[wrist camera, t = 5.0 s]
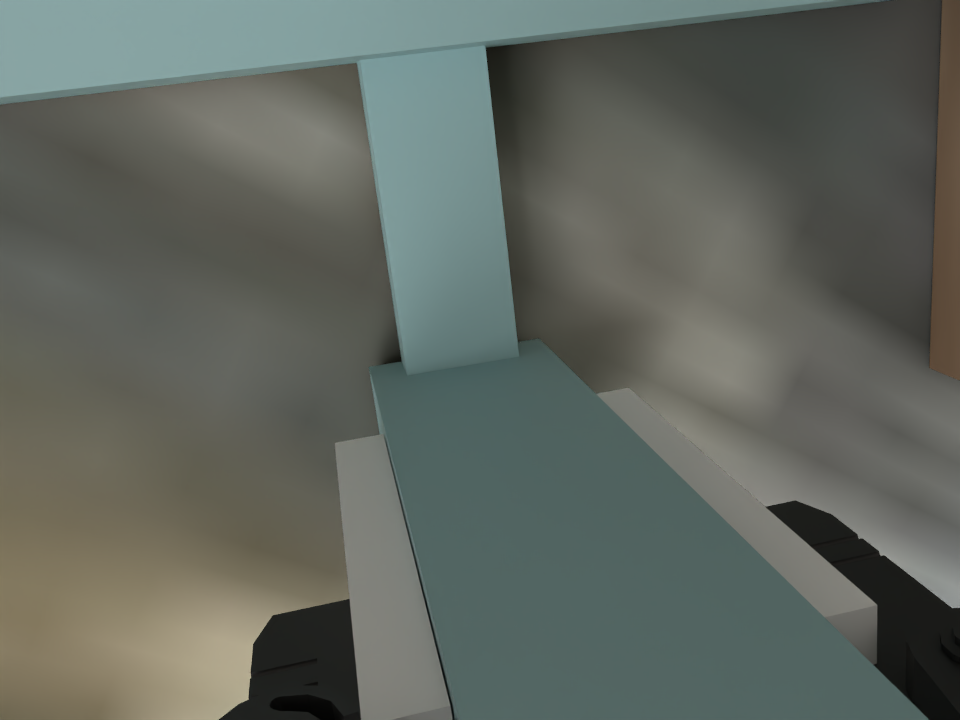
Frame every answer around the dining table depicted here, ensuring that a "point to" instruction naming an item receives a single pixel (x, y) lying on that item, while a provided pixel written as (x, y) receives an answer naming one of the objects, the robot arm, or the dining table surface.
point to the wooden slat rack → (947, 203)
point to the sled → (498, 378)
